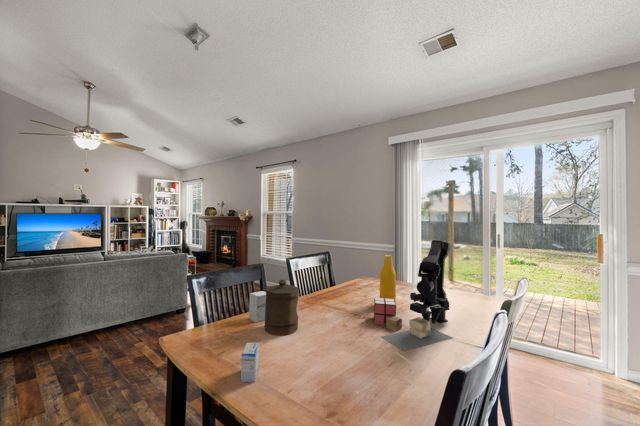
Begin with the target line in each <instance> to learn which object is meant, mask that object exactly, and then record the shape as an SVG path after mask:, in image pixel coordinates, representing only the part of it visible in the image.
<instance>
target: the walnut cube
mask: <svg viewBox="0 0 640 426" xmlns="http://www.w3.org/2000/svg"><path fill="white" fill-rule="evenodd" d="M385 326H386V329H389V330H392V331H394V332H397V331H399V330H402V329H403V318H401V317H399V316H397V315H396V316H390V317H387V318H386V324H385Z"/></svg>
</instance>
